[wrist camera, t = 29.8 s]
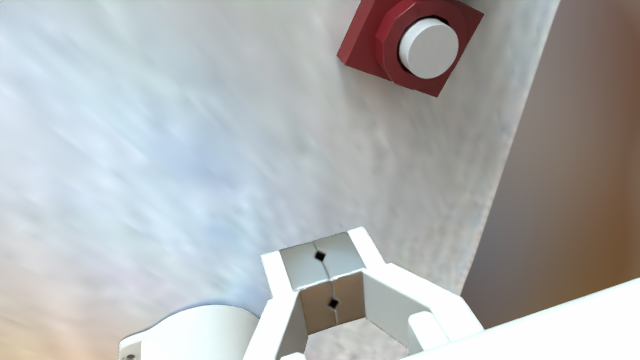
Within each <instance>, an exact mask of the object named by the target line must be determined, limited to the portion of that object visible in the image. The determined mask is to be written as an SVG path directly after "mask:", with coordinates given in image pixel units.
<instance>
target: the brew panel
mask: <svg viewBox="0 0 640 360" xmlns="http://www.w3.org/2000/svg"><path fill="white" fill-rule="evenodd" d="M483 16H484V14H483V13H481V12H479V11H478V10H476V9H474V8H472V7H470V6H468V5H466V4H464V3H462V2H460V1H457V0H361V3H360V5H359V7H358V9H357V11H356V14H355V16H354V18H353V20H352V22H351V25H350V27H349V29H348V31H347V33H346V36H345V38H344V40H343V42H342V44H341V47H340V49H339V51H338V53H337V57H338V58H339V59H340V60H341V61H342V62H343V63H344V64H345V65H347V66H350V67H352V68H355V69H358V70H361V71H364V72H366V73H369V74H372V75H375V76H378V77H381V78H383V79H386V80H389V81H392V82H394V83H395V84H398V85H400V86H403V87H406V88H409V89H412V90H413V89H414V90H417V91H420V92H423V93H426V94H429V95H431V96H434V97H438V95H439V93H440V92H441V90H442V88H443V86H444V85H445V83H446V81H447V79H448V77H449V76H450V74H451V72H452V71H453V69H454V68H455V66H456V64H457V62H458V61H459V59H460V57H461V55H462V54H463V52H464V49H465V48H466V46H467V44H468V42H469V40H470V39H471V37H472V35H473V33H474V32H475V30H476V28H477V26H478V25H479V23H480V21H481V19H482V18H483ZM423 18H435V19H438V20H439V21H441V22H443V23H444V24H446V25H447V26H449V27H450V28H452V29H453V30H454V31H455V33H456V35H457V38H458V43H459V46H458V52H457V56H456V58H455V60H454V62H453V63H452V65H451V66H450V67H449V68H448V69H447V70H446V71H445V72H444V73H442V74H441V75H439V76H437V77H434V78H429V79H425V78H420V77H418V76H416V75H414V74H413V73H412V72H411V71H410V70H409V69H408V68H406V67H405V66H404V65H403V63H402V62H401V60H400V57H399V43H400V40H401V38H402V36H403V34H404V32H405V31H406V30H407V28H408V27H409V26H410V25H412V24H413V23H414V22H416V21H418V20H420V19H423Z"/></svg>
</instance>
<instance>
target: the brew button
mask: <svg viewBox="0 0 640 360" xmlns="http://www.w3.org/2000/svg"><path fill="white" fill-rule="evenodd" d="M458 46H459V43H458V38H457V35H456V33H455V31H454V30H453V29H452V28H450V27H449V26H447V25H446V24H444V23H443V22H441V21H439V20H438V19H435V18H423V19H420V20H418V21H416V22H414V23H413V24H412V25H410V26H409V27H408V28H407V30H406V31H405V32H404V34H403V36H402V38H401V40H400V43H399V57H400V60H401V62H402V63H403V65H404V66H405V67H406V68H408V69H409V70H410V71H411V72H412V73H413V74H414V75H416V76H418V77H420V78H425V79H429V78H434V77H437V76H439V75H441V74H442V73H444V72H445V71H446V70H447V69H448V68H449V67H450V66H451V65H452V63H453V62H454V60H455V58H456V56H457V52H458Z"/></svg>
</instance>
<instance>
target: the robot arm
mask: <svg viewBox="0 0 640 360" xmlns="http://www.w3.org/2000/svg"><path fill="white" fill-rule="evenodd" d="M261 259H262V264H263V268H264V272H265V276H266V281H267V285H268V289H269V293H270V297H271V299H270V300H268V302H267V304H266V306H265V309H264V311H263V313H262V316H261V318H260V320H259V319H258V318H257V317H256V316H255V315H253V314H252V313H250V312H249V311H246V310H244V309H241V308H238V307H234V306H228V305H205V306H199V307H194V308H190V309H187V310H184V311H181V312H178V313H176V314H174V315H172V316H170V317H168V318H166V319H164V320H163V321H161V322H160V323H158V324H157V325H155V326H154V327H152V328H151V329H149V330H147V331H144V332H141V333H138V334H135V335H132V336H129V337H127V338H125V339H123V340H122V341H121V342H120V343H119V351H118V360H306V358H305V355H304V351H305V347H306V343H307V339H308V335H311V334H313V333H316V332H319V331H322V330H325V329H328V328H331V327H333V326H336V325H340V324H343V323H347V322H350V321H354V320H357V319H360V318H364V317H366V319H367V320H369V321H370V322H372V323H373V324H374V325H376V326H377V327H379V328H380V329H381V330H383V331H384V332H386V333H387V334H388V335H390V336H391V337H393V338H394V339H395V340H397V341H398V342H400V343H401V344H402V345H404V346H405V347H407V348H408V356H407V357H404V358H402V359H399V360H640V278H637V279H634V280H631V281H628V282H625V283H622V284H619V285H616V286H614V287H610V288H608V289H604V290H602V291H599V292H596V293H593V294H590V295H587V296H584V297H581V298H578V299H575V300H573V301H569V302H566V303H563V304H560V305H557V306H555V307H551V308H549V309H546V310H543V311H540V312H537V313H534V314H531V315H528V316H525V317H522V318H519V319H516V320H513V321H511V322H507V323H504V324H501V325H498V326H496V327H493V328H490V329H487V330H484V328H483V327H482V325H481V324H480V322H479V321H478V320H477V318H476V317H475V315H474V314H473V312H472V311H471V309H470V308H469V307H468V305H467V304H466V302H465V301H464V300H463V298H462V297H460V296H458V295H456V294H454V293H452V292H450V291H448V290H446V289H444V288H442V287H440V286H437V285H435V284H433V283H431V282H429V281H427V280H425V279H423V278H421V277H419V276H417V275H415V274H413V273H411V272H409V271H407V270H405V269H403V268H401V267H399V266H397V265H395V264H393V263H389V264H386V262H385V261H384V259H383V257H382V256H381V254H380V252H379V250H378V249H377V247H376V245H375V244H374V242H373V240H372V239H371V237H370V235H369V233H368V232H367V230H366V228H365V227H363V226H361V227H358V228H355V229H351V230H348V231H346V232H342V233H338V234H335V235H332V236H328V237H325V238H321V239H318V240H315V241H312V242H308V243H304V244H300V245H296V246H293V247H289V248H285V249H281V250H279V251H275V252H271V253H267V254H263V255H261Z"/></svg>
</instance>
